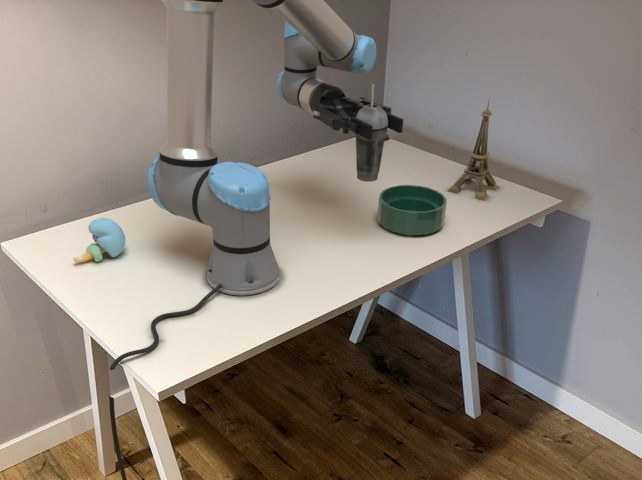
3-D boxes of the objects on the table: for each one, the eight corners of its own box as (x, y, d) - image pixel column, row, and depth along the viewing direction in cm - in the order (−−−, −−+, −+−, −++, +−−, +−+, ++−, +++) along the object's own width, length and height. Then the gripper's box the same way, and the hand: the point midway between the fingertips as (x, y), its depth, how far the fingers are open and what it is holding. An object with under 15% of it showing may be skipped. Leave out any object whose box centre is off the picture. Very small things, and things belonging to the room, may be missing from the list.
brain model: (58, 225, 143) (110, 207, 149) (69, 261, 149) (119, 243, 154) (71, 238, 139) (125, 219, 144) (82, 274, 144) (133, 255, 150)
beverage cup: (386, 173, 150) (395, 79, 138) (380, 186, 144) (389, 89, 132) (354, 169, 151) (360, 76, 140) (347, 181, 146) (352, 85, 134)
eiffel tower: (499, 187, 184) (517, 93, 169) (484, 200, 177) (502, 103, 162) (463, 178, 189) (478, 85, 174) (447, 191, 182) (461, 95, 167)
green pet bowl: (430, 243, 157) (433, 218, 153) (367, 228, 163) (368, 203, 159) (451, 217, 169) (455, 192, 165) (391, 204, 174) (393, 180, 170)
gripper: (358, 110, 160) (421, 139, 144) (285, 124, 151) (344, 156, 135) (360, 77, 155) (426, 103, 140) (285, 89, 146) (346, 118, 131)
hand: (386, 129), depth 137 cm, fingers closed on beverage cup, 7 cm apart
